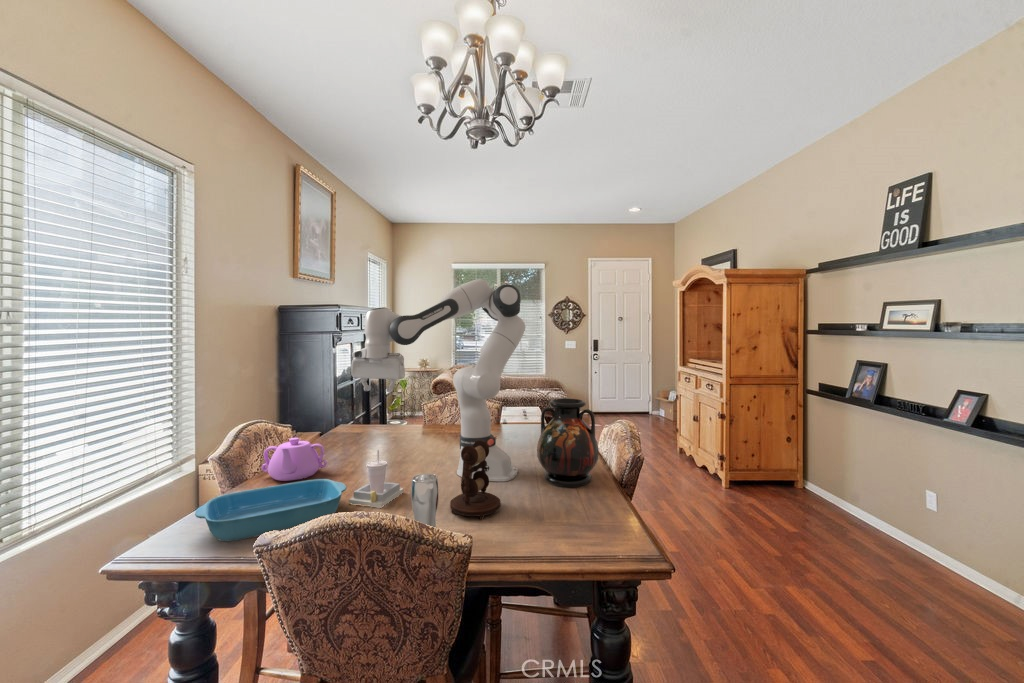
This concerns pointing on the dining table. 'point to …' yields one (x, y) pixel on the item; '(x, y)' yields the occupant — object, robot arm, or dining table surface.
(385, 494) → the collar plate
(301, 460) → the teapot
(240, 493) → the casserole dish
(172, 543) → the dining table surface
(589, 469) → the amphora vase
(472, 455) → the brown spool stand
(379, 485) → the smoothie
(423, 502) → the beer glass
